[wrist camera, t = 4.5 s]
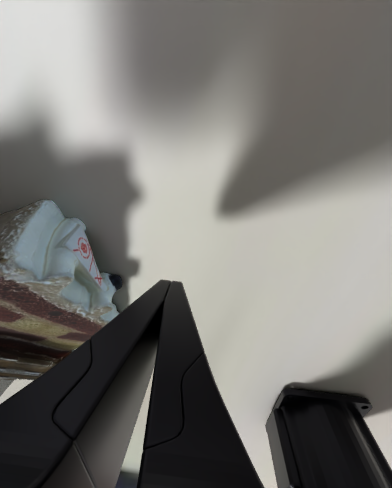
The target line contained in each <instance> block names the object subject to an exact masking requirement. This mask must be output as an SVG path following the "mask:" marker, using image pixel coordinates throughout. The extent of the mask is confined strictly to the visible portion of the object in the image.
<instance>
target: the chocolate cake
mask: <svg viewBox="0 0 392 488" xmlns="http://www.w3.org/2000/svg"><path fill="white" fill-rule="evenodd" d="M85 231H86V226H85V224H84V223H83V222H82V221H81V220H80V219H78V218H75V217H74V218H65V217H64V216H63V214H62V212H61V211H60V209H59V208H58V206H57V205H56V204H55V203H54V202H53V201H52V200H39V201H38V202H35V203H32V204H30V205H28V206H26V207H23V208H20V209H19V210H14V211H9V212H6V213H3V214H1V215H0V379H4V380H14V379H17V378H18V379H27V380H36V379H37V378H38V377H40V376H41V375H42V374H44V373H45V372H47V371H48V370H49V369H51V368H52V367H53V366H55V365H56V364H58V363H59V362H60V361H61V360H63V359H64V358H65V357H67V356H68V355H69V354H70V353H72V352H73V351H74V349H76V348H78V347H79V346H80V345H82V344H83V343H84V342H85V341H87V340H88V339H90V338H91V337H92V336H93V335H94V334H95V333H96V332H98V331H99V330H100V329H101V328H103V327H104V326H105V325H106V324H107V323H109V322H110V321H111V320H112V319H114V318H115V317H116V316H117V315H118V314H119V312H118V311H117V310H116V306H115V305H114V304H113V303H112V297H113V295H114V293H115V291H117V290H118V289H120V288H121V287H122V279H121V277H120V276H118V275H113V274H108V273H99V270H98V268H97V266H96V262H95V259H94V257H93V253H92V250H91V247H90V245H89V242H88V239H87V236H86V234H85Z"/></svg>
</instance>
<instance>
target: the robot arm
mask: <svg viewBox="0 0 392 488" xmlns="http://www.w3.org/2000/svg"><path fill="white" fill-rule="evenodd" d="M154 365H155V366H154ZM153 368H154V373H153V380H152V387H151V394H150V401H149V409H148V416H147V423H146V430H145V437H144V444H143V453H142V458H141V465H140V471H139V477H138V483H137V488H264V486H263V484H262V482H261V480H260V478H259V476H258V474H257V472H256V470H255V468H254V466H253V464H252V462H251V460H250V458H249V456H248V453H247V451H246V449H245V447H244V445H243V443H242V440H241V438H240V436H239V434H238V432H237V430H236V428H235V425H234V423H233V421H232V419H231V417H230V415H229V412H228V410H227V408H226V406H225V404H224V402H223V399H222V397H221V395H220V392H219V390H218V388H217V385H216V383H215V380H214V377H213V375H212V372H211V369H210V366H209V363H208V360H207V357H206V354H205V353H204V348H203V345H202V342H201V339H200V336H199V333H198V330H197V327H196V324H195V321H194V318H193V315H192V312H191V308H190V305H189V302H188V299H187V296H186V293H185V290H184V287H183V284H182V282H178V281H172V282H171V281H169V280H160V281H159V282H157V283H156V284H155V285H154V286H153V287H151V288H150V289H149V290H148V291H146V292H145V293H144V294H143V295H142V296H140V297H139V298H138V299H137V300H135V301H134V302H133V303H132V304H131V305H129V306H128V307H127V308H126V309H124V310H123V311H122V312H121V313H120V314H118V315H117V316H116V317H115V318H114V319H112V320H111V321H110V322H109V323H107V324H106V325H105V326H104V327H103V328H101V329H100V330H99V331H98V332H96V333H95V334H94V335H93V336H92V337H91V338H90V339H88V340H87V341H85V342H84V343H83V344H82V345H80V346H79V347H78V348H77V349H75V350H74V351H73V352H72V353H70V354H69V355H68V356H67V357H65V358H64V359H63V360H61V361H60V362H59V363H58V364H56V365H55V366H53V367H52V368H51V369H49V370H48V371H47V372H45V373H44V374H42V375H41V376H40V377H38V378H37V379H36V380H34V381H33V382H31V383H30V384H28V385H27V386H26V387H24V388H23V389H21V390H20V391H18V392H17V393H16V394H14V395H13V396H11V397H10V398H8V399H7V400H6V401H4V402H3V403H1V404H0V488H115V485H116V482H117V479H118V476H119V473H120V470H121V467H122V464H123V461H124V458H125V454H126V451H127V448H128V445H129V442H130V439H131V436H132V433H133V430H134V427H135V424H136V421H137V418H138V414H139V411H140V408H141V405H142V402H143V399H144V396H145V393H146V390H147V387H148V384H149V381H150V378H151V374H152V371H153ZM371 409H372V405H371V403H370V402H369V400H368V399H367V398H362V397H354V396H346V395H338V394H330V393H321V392H313V391H305V390H297V389H284V390H283V391H282V392H281V395H280V397H279V399H278V401H277V403H276V405H275V407H274V409H273V411H272V413H271V415H270V417H269V419H268V421H267V423H266V425H265V426H266V432H267V433H268V439H269V444H270V449H271V455H272V460H273V465H274V470H275V476H276V481H277V486H278V488H392V470H391V468H390V466H389V464H388V462H387V460H386V459H385V457H384V455H383V453H382V451H381V450H380V448H379V446H378V444H377V442H376V440H375V439H374V437H373V435H372V433H371V431H370V430H369V428H368V426H367V424H366V422H365V420H364V419H363V417H364V416H365V415H366V414H367V413H368V412H369V411H370V410H371Z"/></svg>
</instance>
